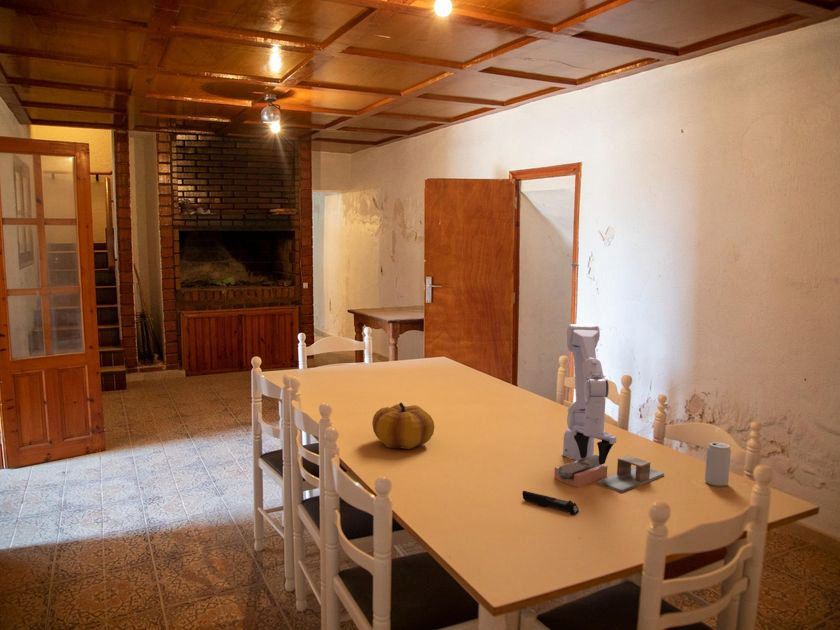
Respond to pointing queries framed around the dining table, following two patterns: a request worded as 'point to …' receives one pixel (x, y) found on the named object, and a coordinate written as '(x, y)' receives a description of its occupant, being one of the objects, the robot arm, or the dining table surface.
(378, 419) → the decorative pumpkin
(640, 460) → the arched stand
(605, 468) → the cradle
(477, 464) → the dining table surface
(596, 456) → the axle
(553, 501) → the electric trimmer
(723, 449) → the beverage can
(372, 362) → the dining table surface
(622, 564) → the dining table surface
